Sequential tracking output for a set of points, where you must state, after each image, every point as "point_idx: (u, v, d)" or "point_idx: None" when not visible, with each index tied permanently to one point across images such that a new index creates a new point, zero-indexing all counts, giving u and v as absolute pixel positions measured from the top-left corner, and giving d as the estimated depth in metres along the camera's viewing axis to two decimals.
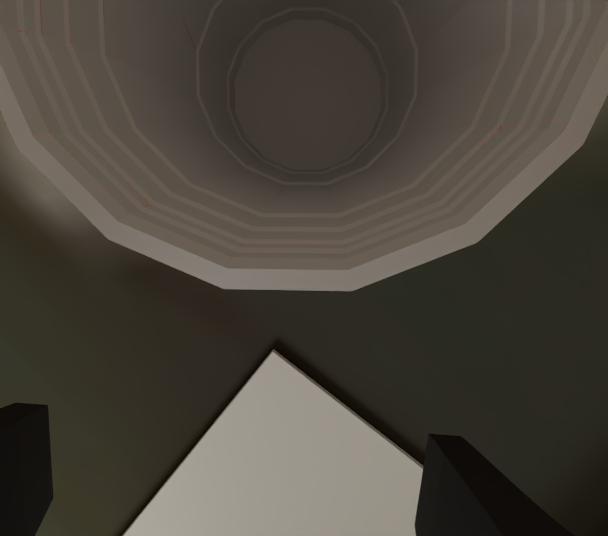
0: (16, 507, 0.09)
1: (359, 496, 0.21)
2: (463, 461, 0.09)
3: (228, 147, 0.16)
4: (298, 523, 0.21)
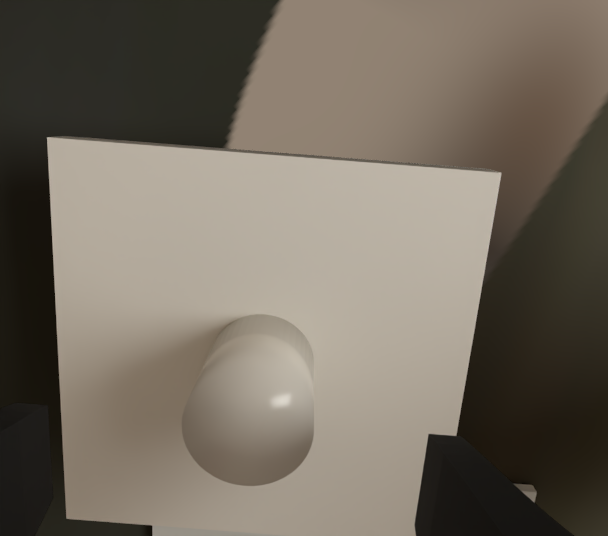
0: (16, 507, 0.09)
1: None
2: (463, 461, 0.09)
3: None
4: None
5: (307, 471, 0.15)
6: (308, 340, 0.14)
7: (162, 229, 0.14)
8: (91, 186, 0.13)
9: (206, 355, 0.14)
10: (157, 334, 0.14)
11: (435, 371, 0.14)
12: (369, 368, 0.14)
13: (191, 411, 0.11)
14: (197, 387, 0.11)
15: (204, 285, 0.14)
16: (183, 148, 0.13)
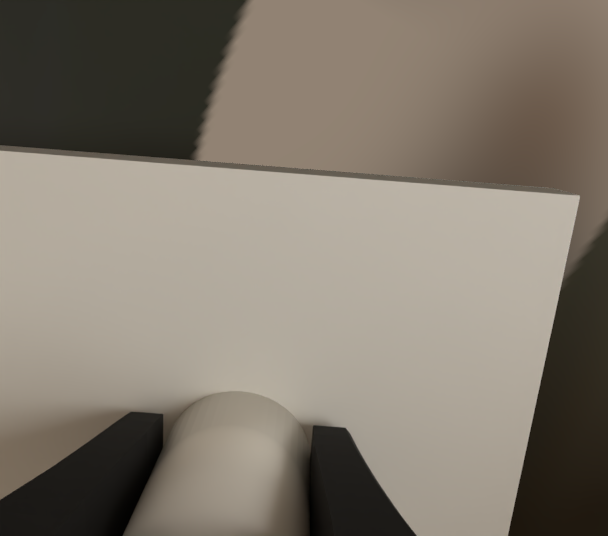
0: None
1: None
2: (330, 451, 0.09)
3: None
4: None
5: None
6: (302, 426, 0.10)
7: (94, 274, 0.10)
8: None
9: None
10: (92, 417, 0.10)
11: (478, 467, 0.10)
12: (387, 462, 0.10)
13: None
14: None
15: (156, 351, 0.10)
16: (121, 160, 0.09)
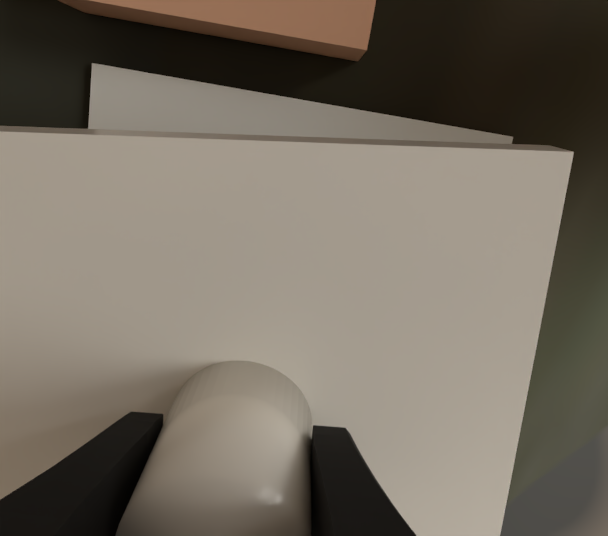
0: None
1: None
2: (330, 451, 0.09)
3: None
4: None
5: None
6: (303, 392, 0.10)
7: (90, 251, 0.10)
8: None
9: (166, 416, 0.11)
10: (97, 391, 0.10)
11: (477, 426, 0.11)
12: (387, 423, 0.11)
13: (127, 535, 0.08)
14: (132, 503, 0.07)
15: (155, 325, 0.10)
16: (108, 135, 0.09)
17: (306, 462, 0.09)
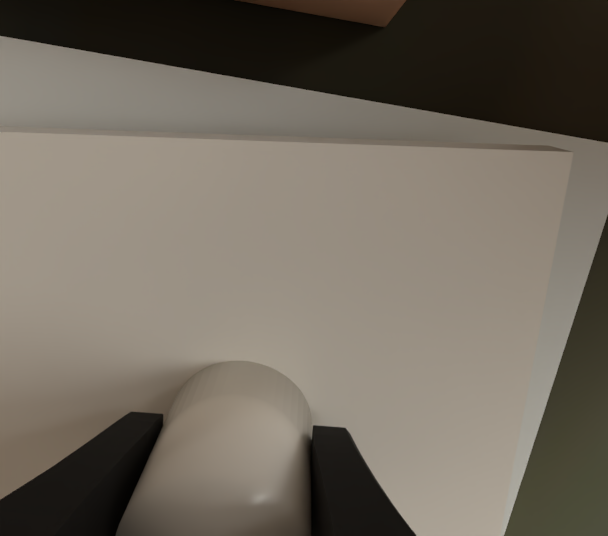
0: None
1: None
2: (330, 451, 0.09)
3: None
4: None
5: None
6: (302, 392, 0.10)
7: (89, 251, 0.10)
8: None
9: (166, 416, 0.11)
10: (97, 391, 0.10)
11: (477, 426, 0.11)
12: (388, 424, 0.11)
13: (127, 535, 0.08)
14: (132, 503, 0.07)
15: (155, 325, 0.10)
16: (108, 136, 0.09)
17: (306, 462, 0.09)
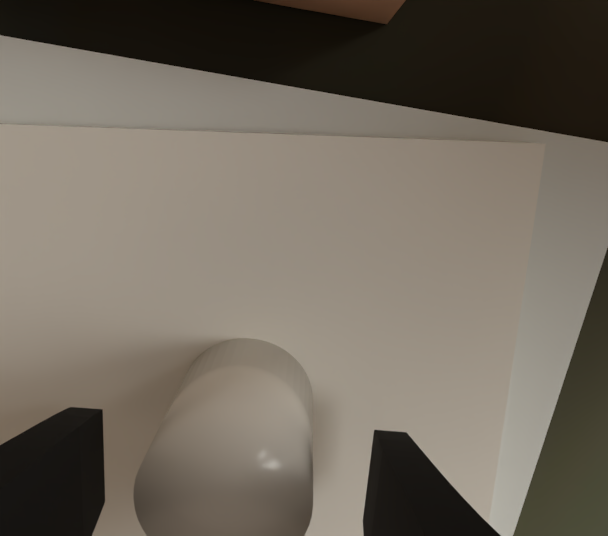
0: (76, 511, 0.09)
1: None
2: (400, 456, 0.09)
3: None
4: None
5: (310, 529, 0.12)
6: (304, 368, 0.11)
7: (110, 235, 0.11)
8: (16, 184, 0.10)
9: (176, 392, 0.11)
10: (113, 368, 0.11)
11: (466, 401, 0.11)
12: (383, 399, 0.11)
13: (145, 481, 0.08)
14: (151, 449, 0.08)
15: (168, 304, 0.11)
16: (131, 129, 0.10)
17: (308, 424, 0.10)
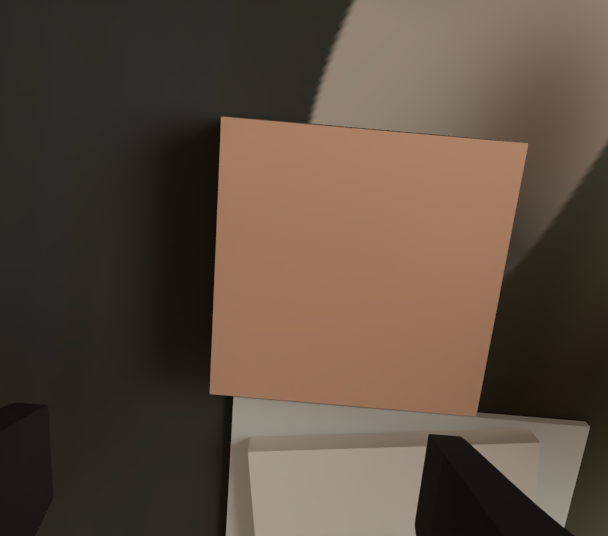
0: (16, 507, 0.09)
1: None
2: (463, 461, 0.09)
3: None
4: None
5: None
6: None
7: (323, 495, 0.21)
8: (276, 476, 0.21)
9: None
10: None
11: None
12: None
13: None
14: None
15: (352, 524, 0.21)
16: (333, 448, 0.20)
17: None
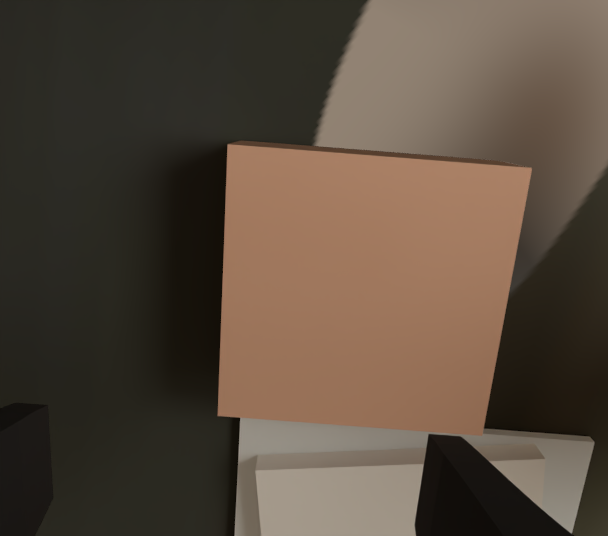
0: (16, 507, 0.09)
1: None
2: (463, 461, 0.09)
3: None
4: None
5: None
6: None
7: (330, 512, 0.21)
8: (283, 494, 0.21)
9: None
10: None
11: None
12: None
13: None
14: None
15: None
16: (340, 466, 0.21)
17: None
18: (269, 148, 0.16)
